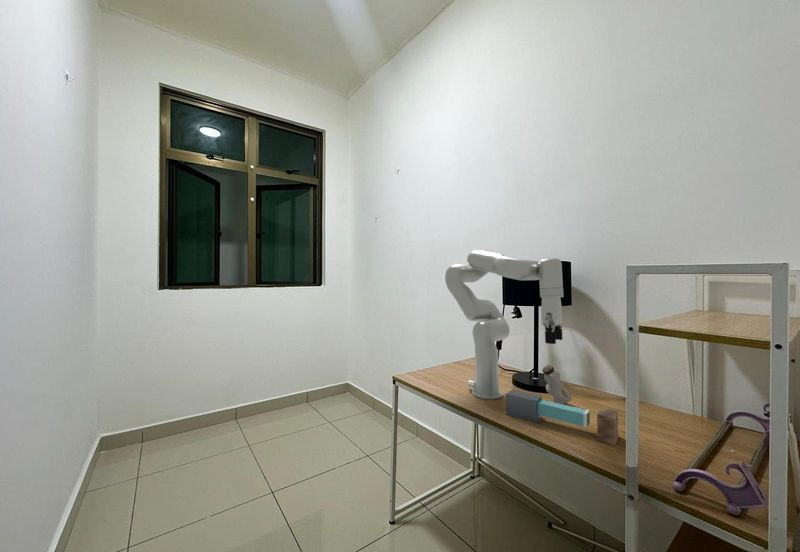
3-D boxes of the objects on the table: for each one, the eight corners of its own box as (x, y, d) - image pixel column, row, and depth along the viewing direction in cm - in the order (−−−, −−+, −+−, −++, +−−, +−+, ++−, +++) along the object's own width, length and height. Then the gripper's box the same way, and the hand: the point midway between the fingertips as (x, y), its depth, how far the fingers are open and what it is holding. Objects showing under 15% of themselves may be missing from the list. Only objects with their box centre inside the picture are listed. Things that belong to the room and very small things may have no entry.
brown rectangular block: (597, 440, 97) (597, 414, 97) (601, 431, 103) (600, 407, 103) (615, 445, 94) (614, 418, 95) (618, 436, 100) (617, 411, 100)
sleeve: (506, 414, 116) (505, 393, 116) (512, 409, 121) (512, 389, 121) (536, 423, 109) (536, 400, 109) (542, 417, 114) (541, 395, 114)
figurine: (544, 398, 132) (544, 361, 132) (572, 403, 127) (571, 365, 127) (541, 405, 124) (541, 366, 125) (571, 410, 119) (570, 370, 119)
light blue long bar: (511, 408, 116) (511, 396, 116) (515, 404, 119) (515, 393, 119) (587, 427, 100) (586, 414, 100) (589, 423, 104) (589, 410, 104)
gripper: (546, 292, 123) (549, 337, 123) (533, 294, 110) (536, 344, 109) (568, 292, 119) (571, 338, 118) (557, 293, 105) (560, 346, 104)
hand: (554, 341), depth 114 cm, fingers open, 9 cm apart
